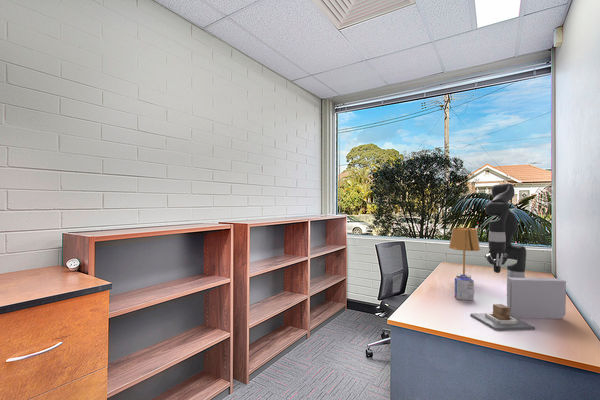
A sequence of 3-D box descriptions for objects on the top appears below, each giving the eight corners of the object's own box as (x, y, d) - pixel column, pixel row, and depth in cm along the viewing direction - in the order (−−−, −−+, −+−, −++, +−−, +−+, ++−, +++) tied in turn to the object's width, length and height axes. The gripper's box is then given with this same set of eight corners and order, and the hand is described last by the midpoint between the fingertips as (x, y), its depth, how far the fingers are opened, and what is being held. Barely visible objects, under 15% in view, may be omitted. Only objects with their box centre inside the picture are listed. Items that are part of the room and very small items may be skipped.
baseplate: (505, 314, 160) (505, 309, 160) (534, 329, 142) (535, 323, 142) (470, 315, 158) (470, 310, 158) (496, 330, 140) (496, 324, 140)
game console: (504, 313, 162) (505, 276, 162) (556, 314, 161) (556, 278, 161) (512, 317, 157) (512, 279, 157) (565, 319, 156) (565, 281, 156)
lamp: (480, 281, 227) (481, 228, 227) (479, 288, 209) (480, 230, 209) (449, 277, 238) (450, 226, 238) (446, 283, 221) (447, 228, 221)
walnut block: (501, 317, 153) (502, 304, 153) (509, 321, 148) (509, 307, 148) (492, 317, 152) (493, 304, 152) (500, 321, 147) (500, 307, 148)
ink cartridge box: (470, 297, 188) (471, 274, 188) (474, 300, 183) (474, 277, 183) (454, 296, 190) (454, 273, 190) (456, 299, 185) (457, 276, 185)
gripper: (502, 238, 163) (502, 270, 163) (480, 239, 161) (480, 271, 162) (514, 240, 156) (514, 273, 156) (491, 241, 154) (491, 275, 154)
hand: (497, 272), depth 159 cm, fingers closed
